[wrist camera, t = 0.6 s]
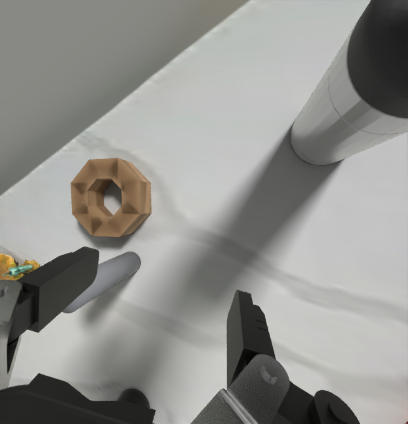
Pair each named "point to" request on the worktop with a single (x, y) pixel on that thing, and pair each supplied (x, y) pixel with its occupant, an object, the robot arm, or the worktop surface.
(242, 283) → the worktop surface
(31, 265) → the green toy figurine
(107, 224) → the brown wooden ring
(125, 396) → the supplement bottle
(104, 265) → the dowel
